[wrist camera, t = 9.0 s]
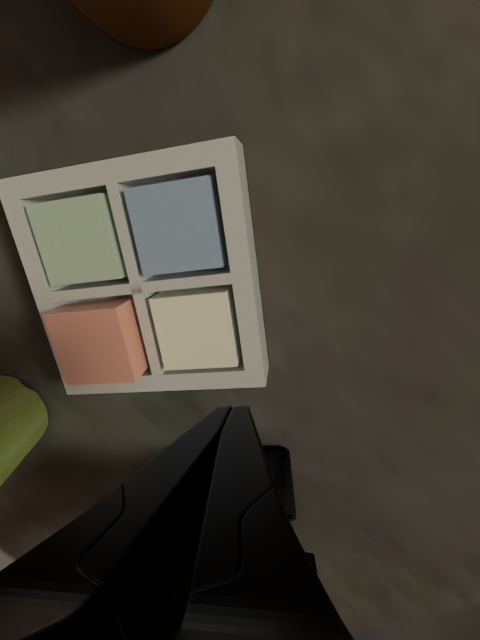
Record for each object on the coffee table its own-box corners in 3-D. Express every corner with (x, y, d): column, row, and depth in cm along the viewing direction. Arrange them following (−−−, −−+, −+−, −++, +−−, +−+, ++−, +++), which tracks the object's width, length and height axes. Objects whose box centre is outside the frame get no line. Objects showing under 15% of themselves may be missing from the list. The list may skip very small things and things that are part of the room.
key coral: (149, 365, 20) (135, 382, 19) (86, 369, 21) (66, 385, 19) (132, 297, 19) (115, 308, 17) (66, 304, 20) (42, 314, 18)
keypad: (268, 366, 21) (265, 387, 19) (90, 375, 24) (67, 394, 21) (242, 145, 17) (234, 135, 15) (30, 183, 20) (-6, 180, 17)
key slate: (229, 261, 19) (222, 267, 17) (157, 269, 20) (143, 276, 18) (217, 177, 17) (208, 174, 16) (140, 190, 18) (122, 189, 16)
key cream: (242, 352, 21) (237, 366, 19) (176, 355, 21) (164, 370, 20) (232, 283, 19) (225, 292, 17) (161, 290, 20) (148, 299, 18)
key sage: (137, 271, 20) (121, 278, 18) (72, 278, 21) (50, 286, 19) (119, 194, 18) (99, 192, 17) (50, 205, 19) (24, 205, 17)
